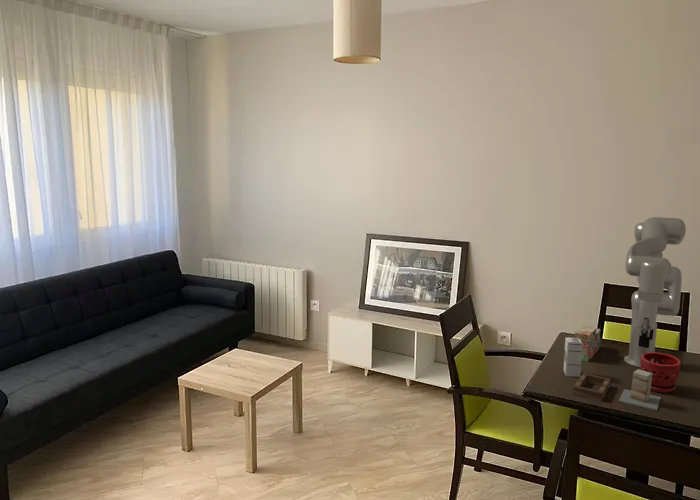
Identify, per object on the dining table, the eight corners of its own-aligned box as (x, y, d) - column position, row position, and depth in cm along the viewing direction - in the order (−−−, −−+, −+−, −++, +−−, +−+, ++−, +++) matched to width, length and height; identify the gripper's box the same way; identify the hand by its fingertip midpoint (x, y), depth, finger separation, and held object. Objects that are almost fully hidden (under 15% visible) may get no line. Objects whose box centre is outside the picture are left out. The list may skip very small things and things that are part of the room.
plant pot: (631, 380, 213) (634, 351, 211) (665, 381, 213) (669, 352, 211) (648, 395, 200) (651, 364, 198) (685, 395, 200) (688, 364, 198)
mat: (624, 390, 204) (624, 389, 204) (660, 398, 197) (660, 397, 197) (618, 402, 194) (618, 400, 194) (656, 411, 188) (657, 409, 188)
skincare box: (629, 398, 196) (632, 371, 195) (635, 394, 199) (637, 368, 197) (644, 403, 192) (647, 376, 191) (650, 399, 195) (652, 372, 193)
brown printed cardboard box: (585, 345, 253) (587, 320, 251) (599, 348, 250) (601, 322, 248) (572, 359, 236) (574, 331, 234) (587, 362, 233) (589, 334, 231)
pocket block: (582, 380, 213) (583, 372, 213) (609, 386, 208) (610, 378, 207) (572, 394, 200) (573, 386, 200) (601, 401, 195) (602, 393, 194)
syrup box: (580, 377, 216) (583, 342, 214) (565, 376, 217) (567, 341, 215) (577, 372, 222) (580, 337, 219) (562, 370, 223) (565, 336, 220)
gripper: (641, 289, 199) (637, 334, 202) (634, 299, 185) (629, 347, 188) (665, 292, 194) (660, 338, 197) (659, 303, 180) (654, 352, 183)
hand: (645, 342), depth 192 cm, fingers open, 9 cm apart
